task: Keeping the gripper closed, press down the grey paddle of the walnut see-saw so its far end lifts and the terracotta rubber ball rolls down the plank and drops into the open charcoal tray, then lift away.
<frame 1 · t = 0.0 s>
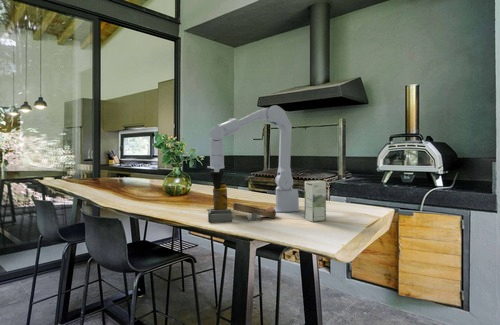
hand: (217, 188, 132), 10 cm above the table, tool pointing down, fingers open, 5 cm apart
tray: (220, 219, 121), on the table
syrup box: (315, 220, 117), on the table
lever: (253, 207, 125), point 3 cm above the table, hinge at -13.5°, touching ball
condiment: (218, 210, 138), on the table, touching gripper
fulcrum: (254, 217, 122), on the table
ball: (269, 209, 122), point 3 cm above the table, tilted 39°, touching lever
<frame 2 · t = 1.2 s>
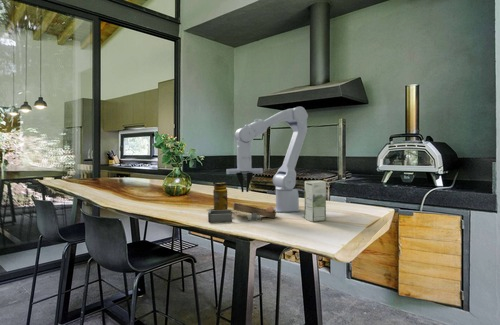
hand: (244, 191, 127), 9 cm above the table, tool pointing down, fingers closed
condiment: (218, 211, 138), on the table
everything else where it was.
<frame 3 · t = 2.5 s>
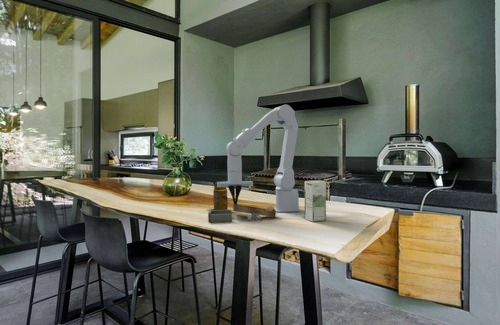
hand: (235, 204, 129), 4 cm above the table, tool pointing down, fingers closed, pressing on lever
lever: (253, 207, 125), point 3 cm above the table, hinge at -10.7°, touching ball, gripper
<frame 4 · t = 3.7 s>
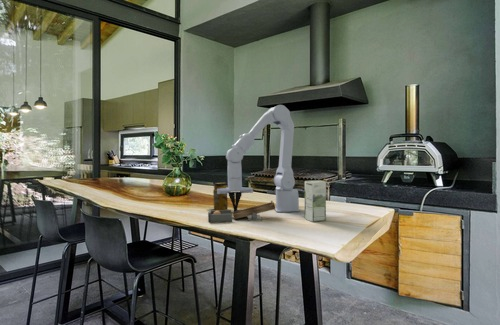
hand: (235, 210, 130), 1 cm above the table, tool pointing down, fingers closed
lever: (252, 207, 125), point 3 cm above the table, hinge at 12.1°, touching gripper
ball: (217, 214, 121), point 2 cm above the table, tilted 105°, touching tray
everything else where it was.
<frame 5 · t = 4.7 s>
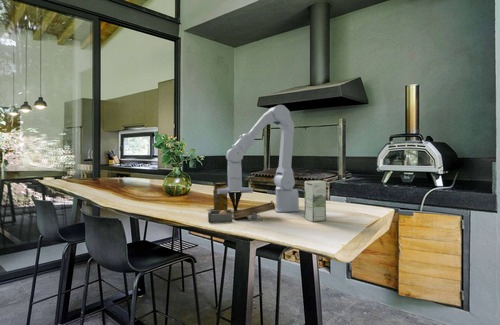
hand: (235, 210, 130), 1 cm above the table, tool pointing down, fingers closed
ball: (223, 214, 121), point 2 cm above the table, tilted 18°, touching tray
everything else where it was.
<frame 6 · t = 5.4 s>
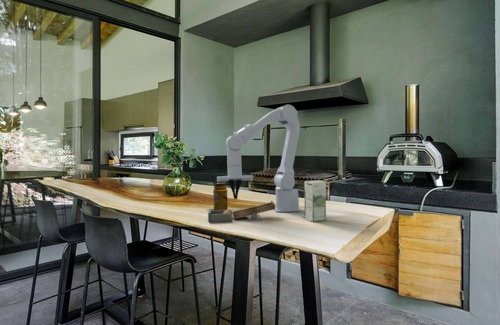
hand: (235, 198, 129), 6 cm above the table, tool pointing down, fingers closed
lever: (252, 207, 125), point 3 cm above the table, hinge at 12.1°
ball: (227, 214, 121), point 2 cm above the table, tilted 43°, touching tray
everything else where it was.
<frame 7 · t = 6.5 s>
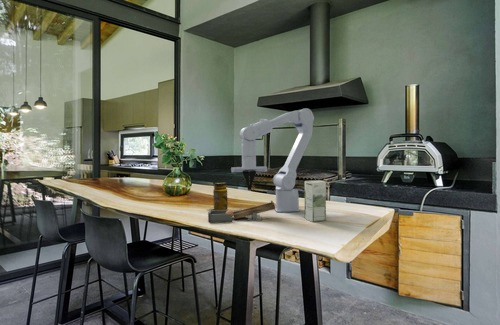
hand: (249, 189, 129), 10 cm above the table, tool pointing down, fingers closed
ball: (229, 214, 121), point 2 cm above the table, tilted 75°, touching tray
everything else where it was.
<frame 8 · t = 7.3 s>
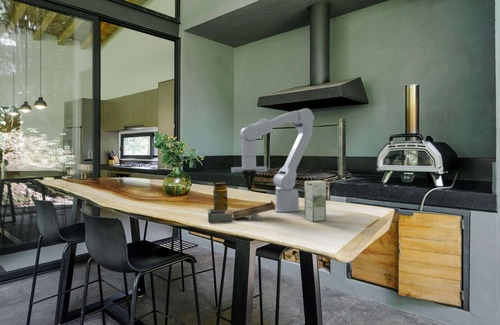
hand: (249, 189, 129), 10 cm above the table, tool pointing down, fingers closed
ball: (228, 214, 121), point 2 cm above the table, tilted 64°, touching tray
everything else where it was.
at the end: ball inside the target area on the tray (3.0 cm from its centre), point 1.8 cm above the tray's base; lever at +12° (first picture: -14°) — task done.
